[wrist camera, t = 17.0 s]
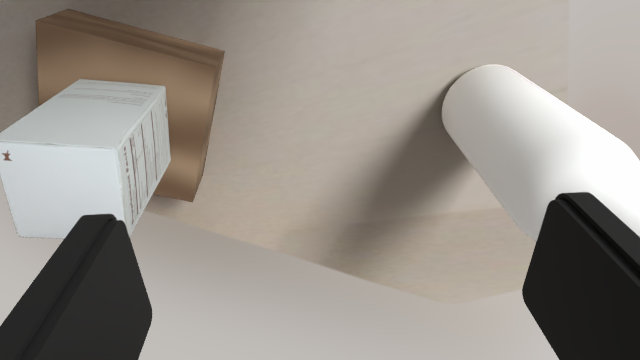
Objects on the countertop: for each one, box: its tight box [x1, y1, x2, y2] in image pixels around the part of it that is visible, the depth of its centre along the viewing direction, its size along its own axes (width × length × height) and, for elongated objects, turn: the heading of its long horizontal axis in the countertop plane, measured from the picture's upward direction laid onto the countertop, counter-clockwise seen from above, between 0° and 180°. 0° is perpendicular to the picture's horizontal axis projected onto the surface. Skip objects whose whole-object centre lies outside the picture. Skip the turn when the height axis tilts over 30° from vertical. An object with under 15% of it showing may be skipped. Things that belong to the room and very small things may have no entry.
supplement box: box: [0, 79, 171, 239], centre depth 32 cm, size 7×7×13 cm
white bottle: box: [442, 64, 640, 241], centre depth 32 cm, size 9×9×30 cm
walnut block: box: [36, 9, 225, 202], centre depth 41 cm, size 14×14×6 cm
